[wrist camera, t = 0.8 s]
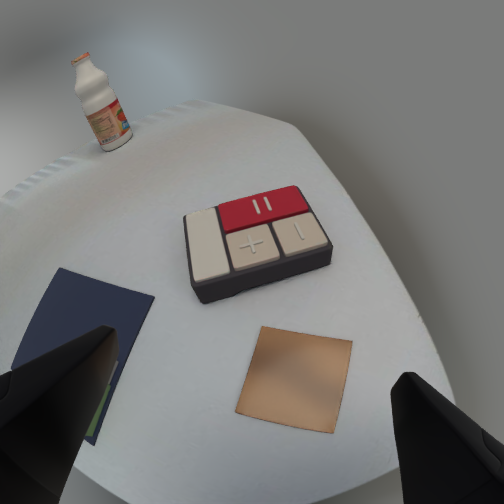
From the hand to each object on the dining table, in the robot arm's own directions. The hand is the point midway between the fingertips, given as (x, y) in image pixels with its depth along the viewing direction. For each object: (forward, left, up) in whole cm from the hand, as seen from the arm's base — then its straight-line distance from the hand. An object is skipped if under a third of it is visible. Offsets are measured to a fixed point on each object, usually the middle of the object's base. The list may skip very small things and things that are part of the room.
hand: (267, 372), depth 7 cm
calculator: (+17, +9, -18) cm, 26 cm away
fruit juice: (+47, +57, -18) cm, 76 cm away
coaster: (+3, +1, -18) cm, 18 cm away
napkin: (-2, +30, -18) cm, 35 cm away
